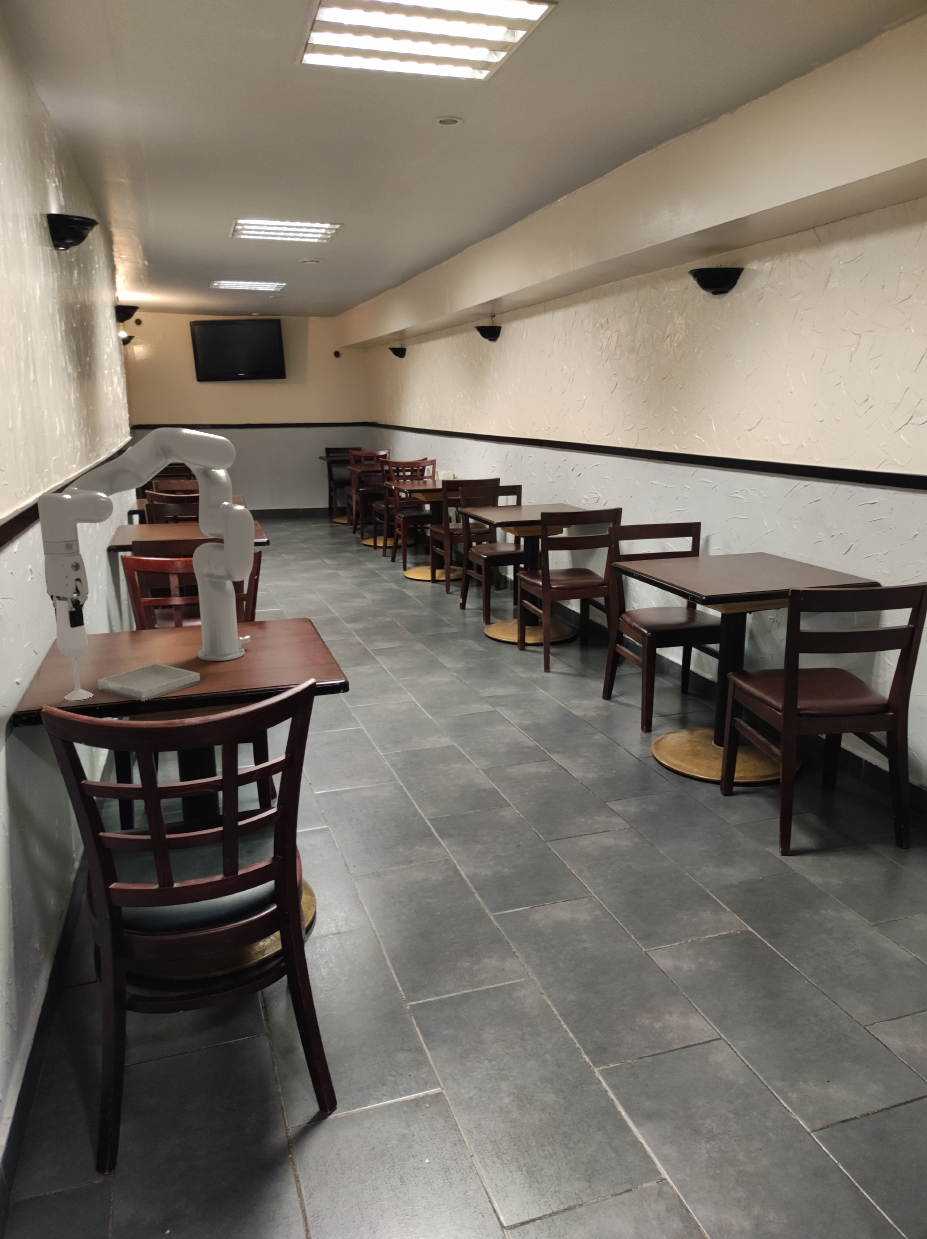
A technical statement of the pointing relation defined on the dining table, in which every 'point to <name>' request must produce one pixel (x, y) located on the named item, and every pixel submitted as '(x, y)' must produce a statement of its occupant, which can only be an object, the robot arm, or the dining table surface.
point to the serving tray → (148, 681)
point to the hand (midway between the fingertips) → (70, 624)
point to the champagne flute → (71, 644)
